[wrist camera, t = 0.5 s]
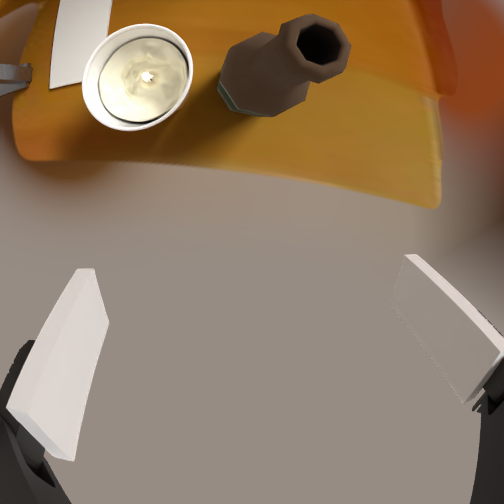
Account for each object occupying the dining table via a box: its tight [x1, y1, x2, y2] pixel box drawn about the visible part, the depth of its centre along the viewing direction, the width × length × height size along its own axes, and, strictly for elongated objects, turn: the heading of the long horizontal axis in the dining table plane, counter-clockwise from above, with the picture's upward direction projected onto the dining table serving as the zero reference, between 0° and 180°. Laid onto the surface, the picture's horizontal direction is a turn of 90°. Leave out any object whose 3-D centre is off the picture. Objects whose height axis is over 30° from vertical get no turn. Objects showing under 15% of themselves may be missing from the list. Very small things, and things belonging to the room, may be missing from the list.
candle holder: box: [82, 24, 193, 131], centre depth 24 cm, size 10×10×12 cm
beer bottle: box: [216, 14, 351, 117], centre depth 21 cm, size 8×8×24 cm
